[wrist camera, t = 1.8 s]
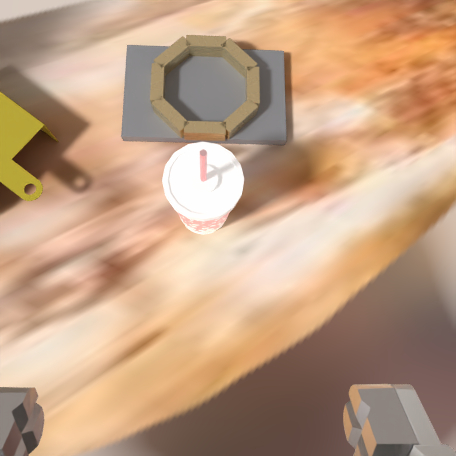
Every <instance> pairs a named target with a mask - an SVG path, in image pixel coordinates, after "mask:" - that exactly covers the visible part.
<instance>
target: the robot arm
mask: <svg viewBox="0 0 456 456" xmlns="http://www.w3.org/2000/svg"><path fill="white" fill-rule="evenodd" d="M349 396H350V401H349V402H348V403H347V404H345V408H344V412H343V415H344V416H343V420H344V429H345V433H346V437H347V441H348V442H349V443H350V444H351V445H352V446H353V447H354V448H355V449H356V451H355V453H354V456H456V451H454V450H453V449H452V448H451V447H450V446H449V445H447V444H441V442H440V440H439V438H438V436H437V434H436V432H435V430H434V428H433V426H432V424H431V422H430V420H429V418H428V416H427V414H426V412H425V410H424V408H423V406H422V404H421V402H420V400H419V398H418V396H417V393H416V392H415V389H414V388H413V387H412V386H411V385H409V384H396V385H389V384H369V385H353V386H351V388H350V391H349ZM37 398H38V394H37V391H36V389H35V388H20V387H0V456H29V454H30V453H31V452H32V451H33V450H34V449H35V448H36V447H37V446H38V445H39V442H40V439H41V436H42V432H43V426H44V412H43V409H42V407H41V406H40V405H38V404H37V403H36V400H37Z"/></svg>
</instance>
